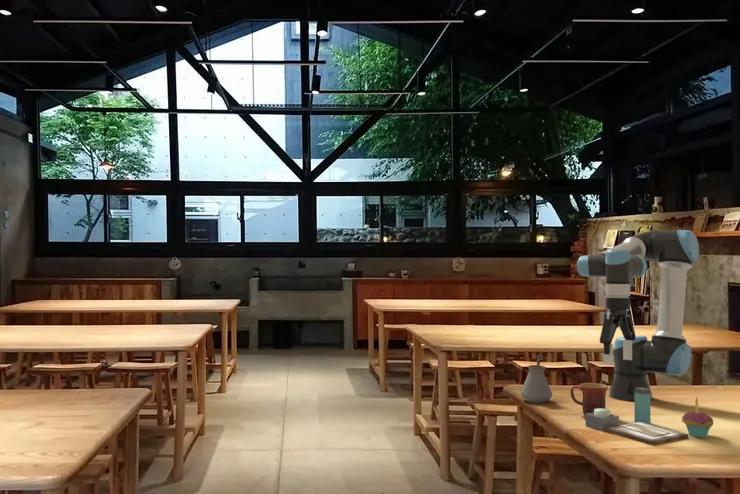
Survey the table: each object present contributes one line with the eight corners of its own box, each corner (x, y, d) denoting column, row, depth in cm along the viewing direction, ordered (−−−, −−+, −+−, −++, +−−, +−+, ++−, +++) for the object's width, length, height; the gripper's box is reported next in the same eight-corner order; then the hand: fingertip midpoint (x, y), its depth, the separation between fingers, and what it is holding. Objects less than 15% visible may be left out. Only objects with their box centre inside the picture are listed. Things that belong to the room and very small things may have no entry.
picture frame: (640, 424, 209) (640, 420, 209) (688, 437, 194) (688, 433, 194) (604, 431, 201) (604, 426, 201) (651, 445, 186) (651, 440, 186)
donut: (712, 441, 191) (711, 399, 191) (680, 436, 195) (680, 396, 195) (714, 434, 198) (714, 394, 198) (683, 430, 202) (683, 391, 203)
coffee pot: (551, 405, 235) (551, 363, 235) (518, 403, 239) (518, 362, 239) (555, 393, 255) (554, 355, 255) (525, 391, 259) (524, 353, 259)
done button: (601, 418, 209) (601, 407, 209) (613, 422, 205) (613, 410, 205) (590, 420, 207) (590, 409, 207) (602, 423, 203) (602, 412, 203)
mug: (609, 414, 222) (609, 384, 222) (605, 420, 214) (605, 389, 214) (573, 410, 228) (573, 381, 228) (568, 416, 220) (568, 385, 220)
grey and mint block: (641, 420, 214) (641, 387, 214) (650, 423, 211) (650, 389, 211) (634, 422, 212) (634, 388, 212) (643, 424, 209) (643, 390, 209)
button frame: (601, 423, 211) (601, 411, 211) (618, 428, 204) (618, 416, 204) (585, 425, 207) (585, 413, 207) (603, 431, 201) (603, 418, 201)
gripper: (624, 294, 224) (624, 356, 224) (588, 298, 207) (588, 365, 207) (646, 295, 219) (646, 359, 218) (610, 299, 202) (611, 368, 201)
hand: (618, 362), depth 213 cm, fingers open, 13 cm apart
